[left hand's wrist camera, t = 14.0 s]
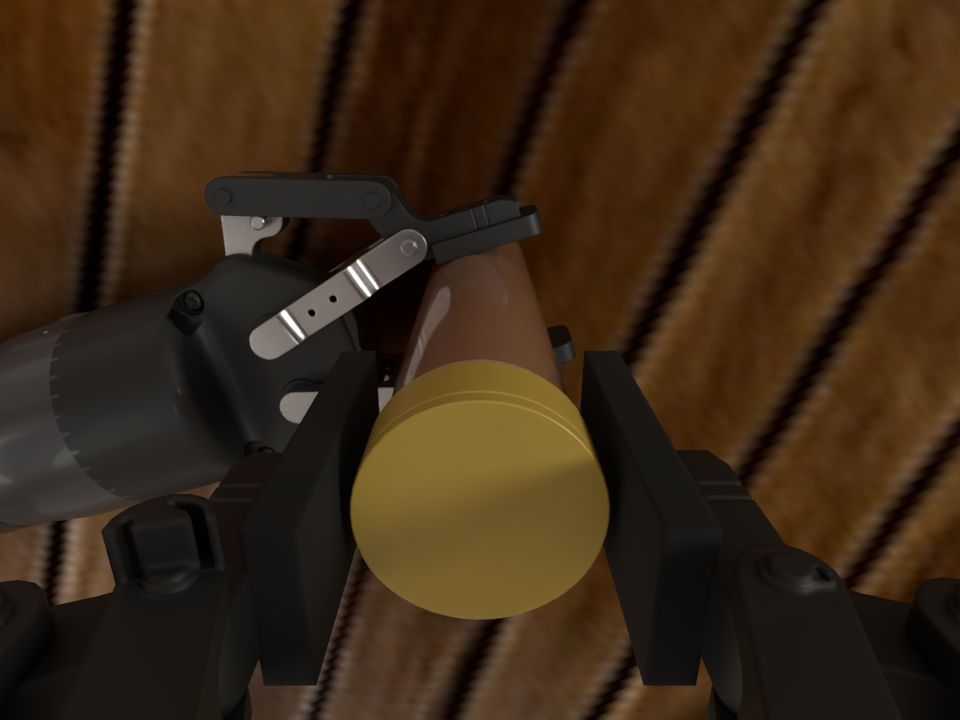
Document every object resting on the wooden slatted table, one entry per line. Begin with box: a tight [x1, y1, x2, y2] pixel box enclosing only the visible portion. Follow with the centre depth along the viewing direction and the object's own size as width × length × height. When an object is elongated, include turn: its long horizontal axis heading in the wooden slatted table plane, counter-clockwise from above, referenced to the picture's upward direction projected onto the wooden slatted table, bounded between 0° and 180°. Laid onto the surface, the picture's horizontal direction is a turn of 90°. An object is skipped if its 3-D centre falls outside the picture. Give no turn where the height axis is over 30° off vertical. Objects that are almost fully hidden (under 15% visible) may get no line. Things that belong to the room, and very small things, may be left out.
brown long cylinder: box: [391, 241, 569, 398], centre depth 19 cm, size 4×4×18 cm
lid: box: [350, 361, 610, 619], centre depth 11 cm, size 4×4×2 cm
